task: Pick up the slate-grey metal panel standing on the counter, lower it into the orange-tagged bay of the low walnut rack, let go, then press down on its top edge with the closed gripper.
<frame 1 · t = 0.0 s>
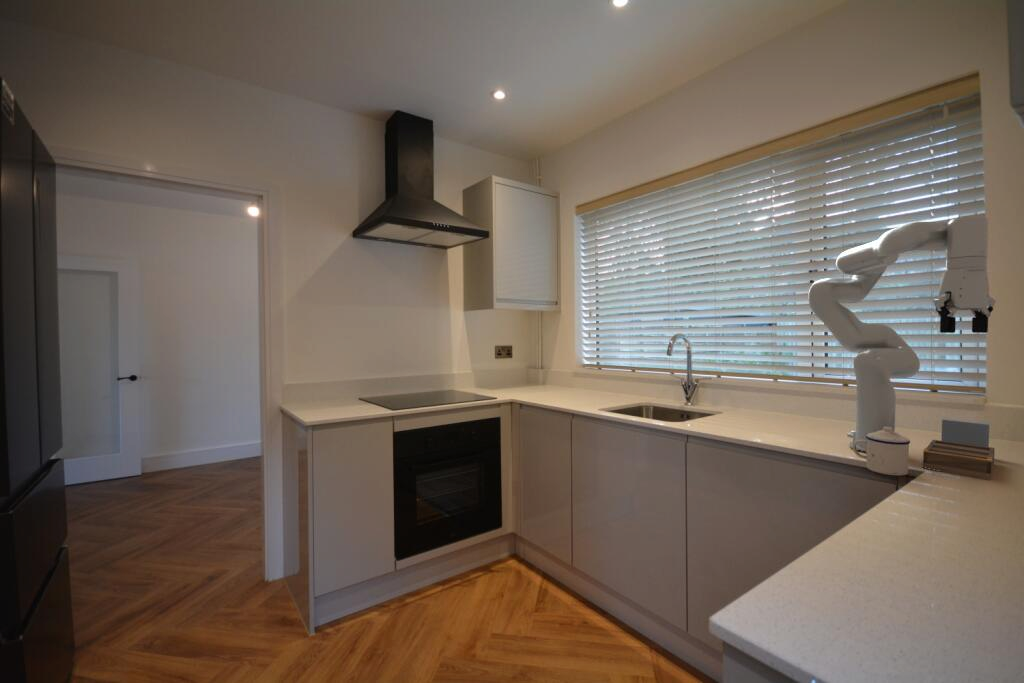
hand: (963, 332, 119), 37 cm above the worktop, tool pointing down, fingers open, 9 cm apart
teacup with lid: (879, 470, 124), on the worktop
panel: (964, 454, 139), on the worktop
rack: (959, 466, 128), on the worktop
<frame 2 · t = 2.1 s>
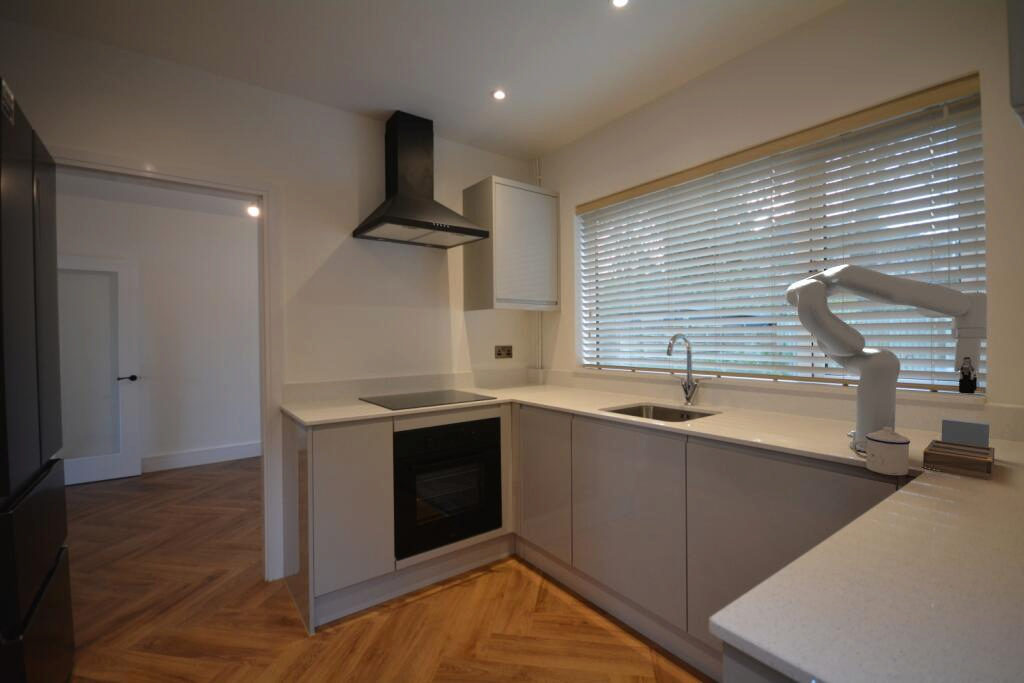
hand: (967, 391, 138), 19 cm above the worktop, tool pointing down, fingers open, 9 cm apart
nothing on the worktop moved.
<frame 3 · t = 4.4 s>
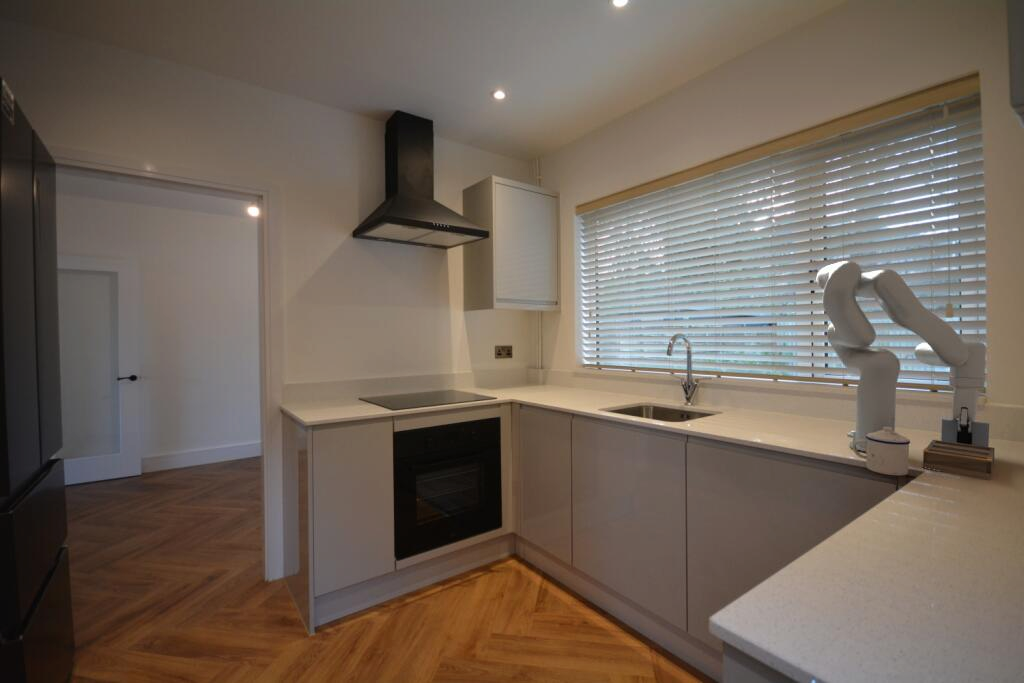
hand: (964, 443, 139), 3 cm above the worktop, tool pointing down, fingers closed on panel, 2 cm apart
panel: (964, 454, 139), on the worktop, touching gripper
everything else where it was.
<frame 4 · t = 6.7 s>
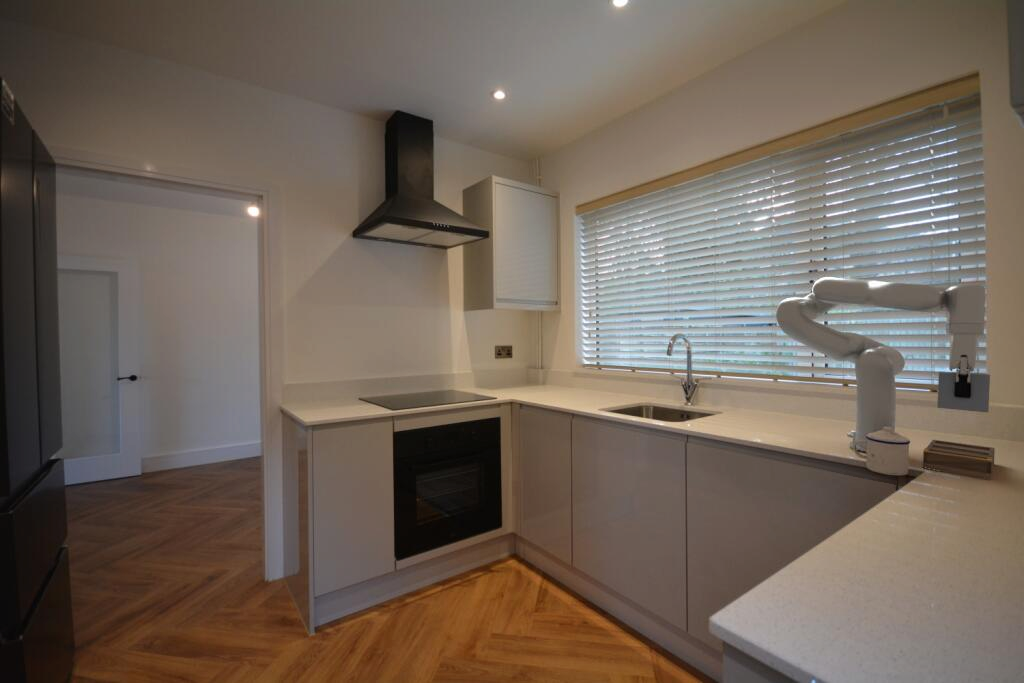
hand: (962, 396, 128), 19 cm above the worktop, tool pointing down, fingers closed on panel
panel: (962, 409, 128), point 15 cm above the worktop, touching gripper
everything else where it was.
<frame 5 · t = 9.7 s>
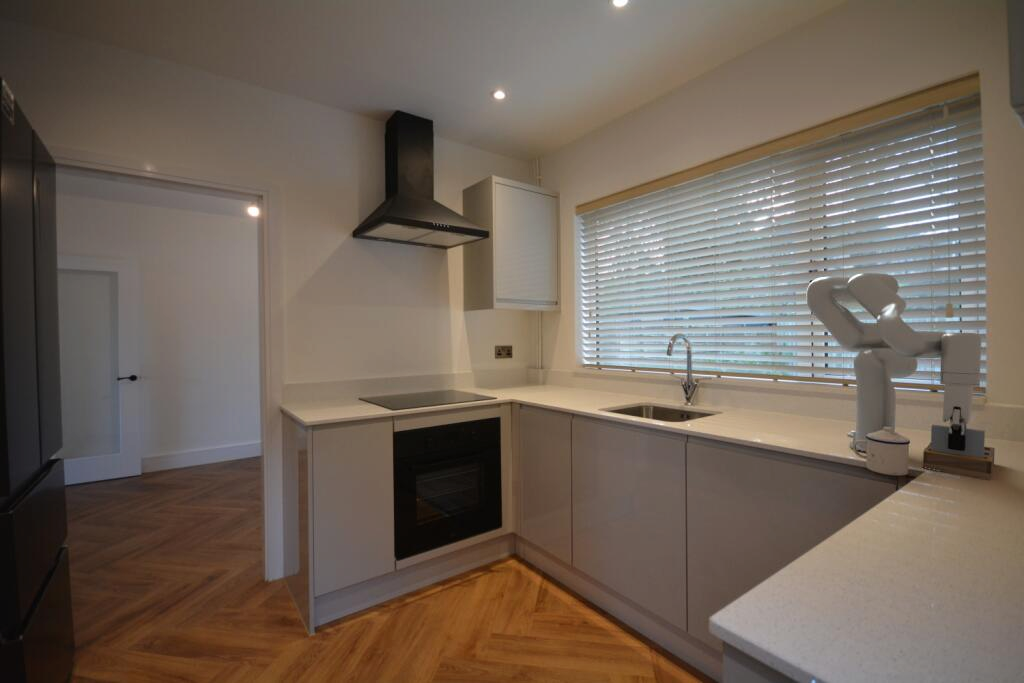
hand: (957, 447, 123), 6 cm above the worktop, tool pointing down, fingers open, 5 cm apart
panel: (956, 465, 123), point 1 cm above the worktop, touching rack
everything else where it was.
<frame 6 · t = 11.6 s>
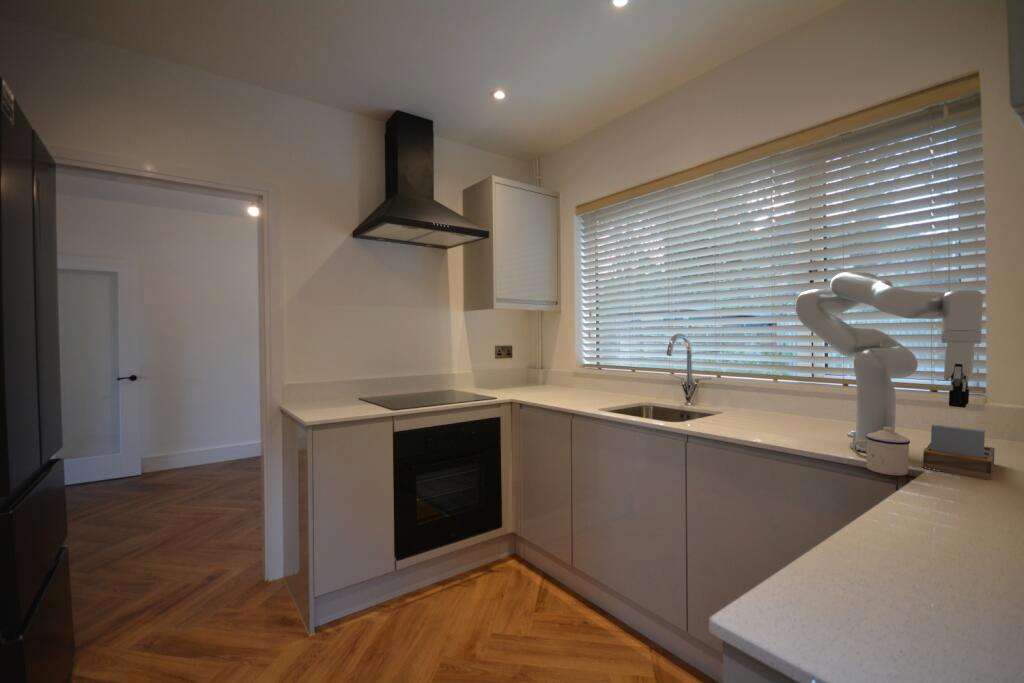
hand: (958, 404, 122), 18 cm above the worktop, tool pointing down, fingers open, 7 cm apart
nothing on the worktop moved.
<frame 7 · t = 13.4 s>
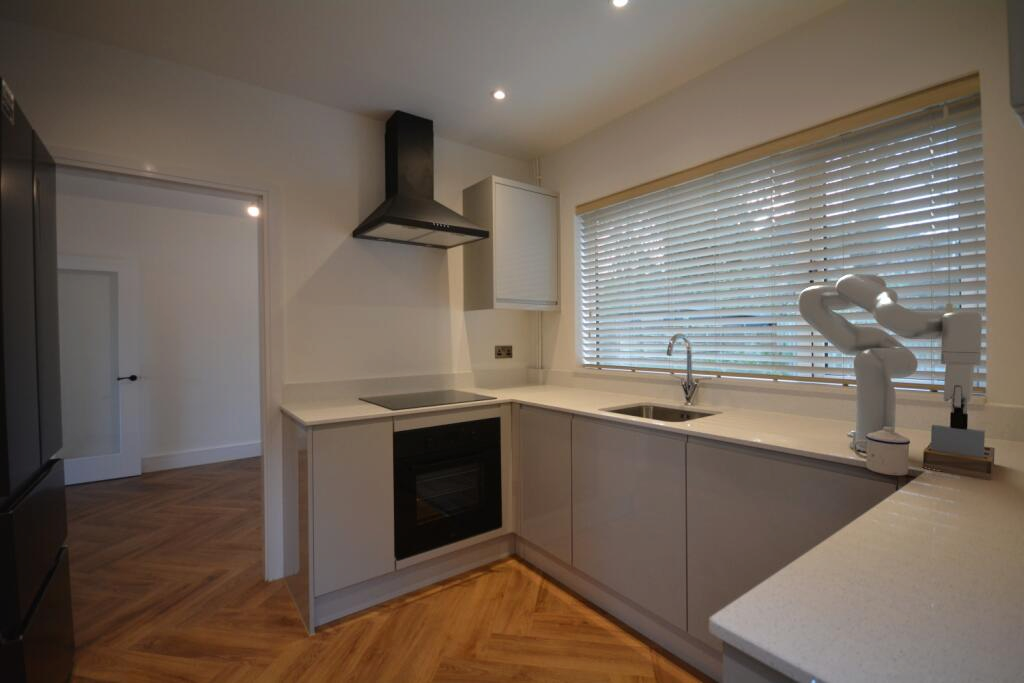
hand: (958, 428, 122), 12 cm above the worktop, tool pointing down, fingers closed
panel: (956, 465, 123), point 1 cm above the worktop, touching gripper, rack
everything else where it was.
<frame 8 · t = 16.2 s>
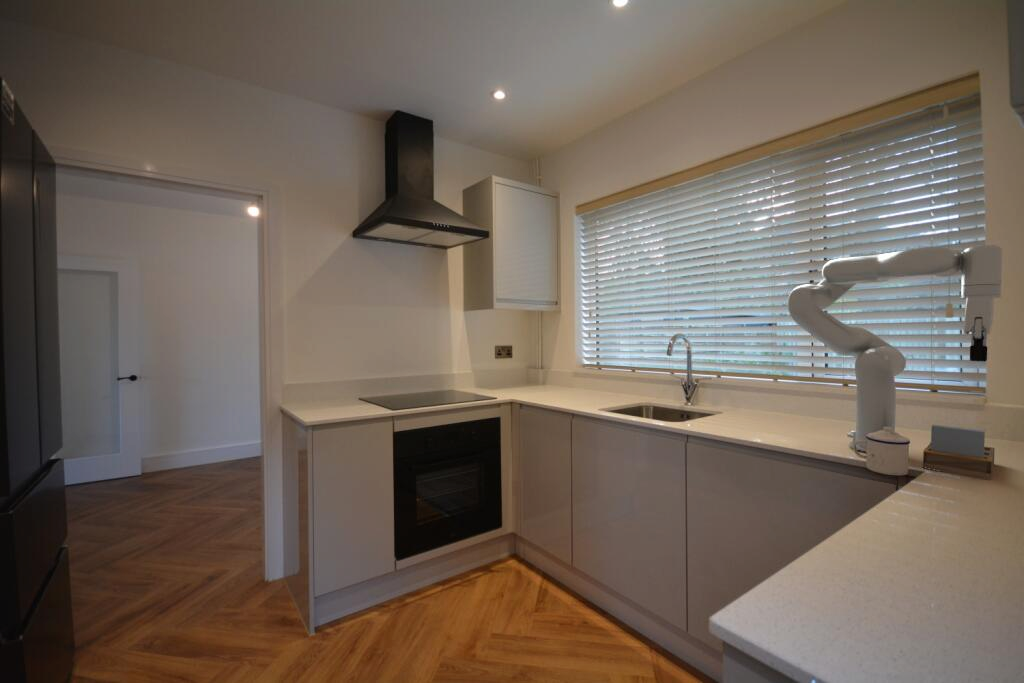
hand: (978, 360, 125), 29 cm above the worktop, tool pointing down, fingers closed
panel: (956, 465, 123), point 1 cm above the worktop, touching rack
everything else where it was.
at the end: panel 0.1 cm from the target spot on the rack, point 1.5 cm above the rack's base; panel tilted 0°; the gripper is holding nothing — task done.
